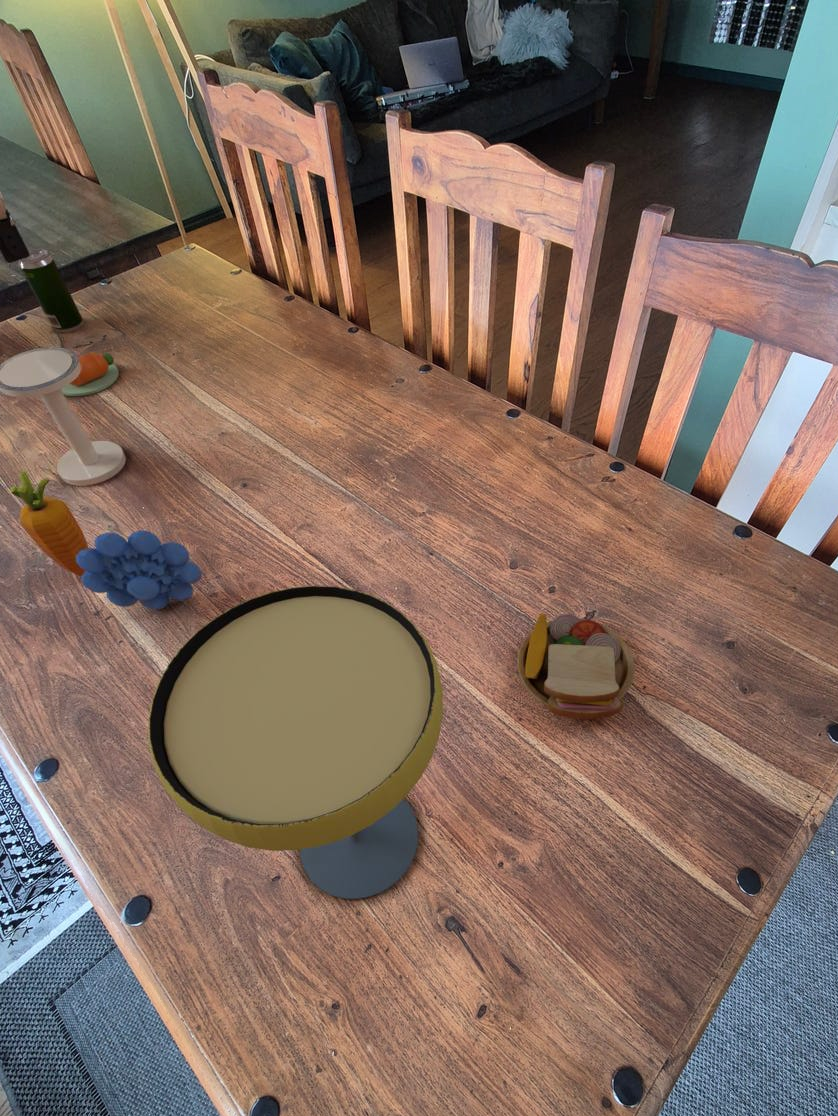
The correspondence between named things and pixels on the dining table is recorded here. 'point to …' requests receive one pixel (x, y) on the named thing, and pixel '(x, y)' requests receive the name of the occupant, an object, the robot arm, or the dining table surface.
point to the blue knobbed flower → (138, 570)
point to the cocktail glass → (303, 731)
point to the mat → (93, 384)
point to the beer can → (51, 291)
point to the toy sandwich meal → (576, 667)
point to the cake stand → (61, 411)
